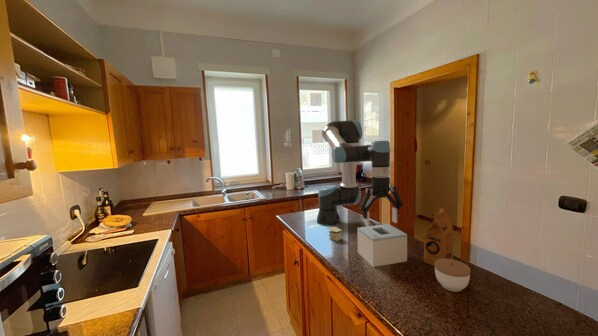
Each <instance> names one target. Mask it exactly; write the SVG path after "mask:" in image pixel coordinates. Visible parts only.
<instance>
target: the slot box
mask: <svg viewBox="0 0 598 336" xmlns="http://www.w3.org/2000/svg"><path fill="white" fill-rule="evenodd" d="M356 236H357V237H356V238H357V253H358V255H360V256H361V257H362V259H364V260H365V261H366V262H367V263H369V264H370V266H371V267H372V268H374V267H380V266H381V267H382V266H386V265H393V264H398V263H405V262H407V261H408V234H407V233H406V232H404V231H402V230H400V229H398V228H397V227H395V226H393V225H392V224H390V223H385V224H376V225H375V226H369V227H368V226H367V227H364V226H361V227H357V235H356Z"/></svg>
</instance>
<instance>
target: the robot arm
mask: <svg viewBox="0 0 598 336" xmlns="http://www.w3.org/2000/svg"><path fill="white" fill-rule="evenodd" d="M321 134H322V138H323V140H324V141H325V142H326V143H328V144H329V146H330V147H331V149H332V151H331V157H332V161H333V162H334V163H337V164H338V163H339V164H341V182H340V183H339V187H338V186H337V185H329V184H328V185H325V186H322V187H320V188H319V189H318V214H317V216H316V222H317V224H319V225H320V226H321V225H323V226H334V225H338V224H340V223H341V218H340V214H339V211H338V206H354V205H358V204H359V203H360V204H359V206H358V210H359V211H362V217H363V219H364V226H365V225H366V226H368V227H369V220H370V211H369V210H370V208H371V207H372V205H373V204H374V203H375V201H376V200H377V199H382V198H386V199H387V200H388V202H390V203H391V205H392V207H391V222H392V223H395V224H397V223H398V215H400V214H399V213H400V212H399V211H400V209H401V207H403V206H404V203H403V202H402V200H401V198H400V195H399V194H398V191H397V190H398V189H397V187H396V186H395V185H391V177H390V176H391V144H390V141H389V140H373V141H371V144H366V145H358V144H359V142H360V140H362V138H363V127H362V124H361V123H360V121H359V120H333V121H331V122H328V123H327V124H326V125H325V126H324V127H323V129H322V132H321ZM357 162H359V163H360V162H361V163H363V162H371V176H372V177H371V186H372V187H371V188H368V187H366V188H365V190H364V195H363V197H362V189H361V186H359V184H358V183H357V181H356V176H357V175H356V174H357V172H356V170H357V169H356V168H357V166H356V164H357ZM390 185H391V186H390ZM389 192H391V193H389ZM392 196H393V197H392ZM361 197H362V199H361ZM360 201H361V202H360Z"/></svg>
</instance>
